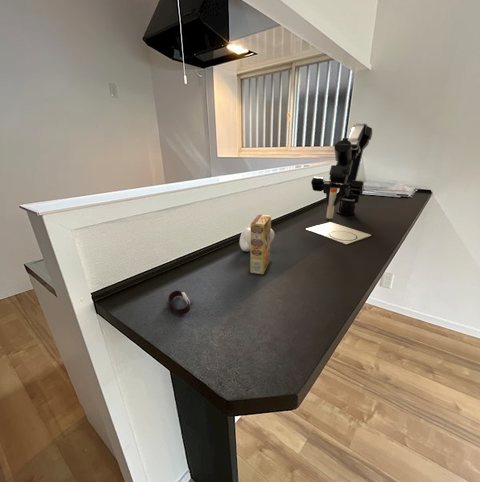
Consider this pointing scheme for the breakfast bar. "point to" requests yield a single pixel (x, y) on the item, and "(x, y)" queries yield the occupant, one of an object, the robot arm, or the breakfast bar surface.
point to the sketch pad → (338, 233)
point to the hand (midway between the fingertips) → (330, 204)
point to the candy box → (260, 243)
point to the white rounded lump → (249, 238)
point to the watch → (179, 293)
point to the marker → (331, 204)
